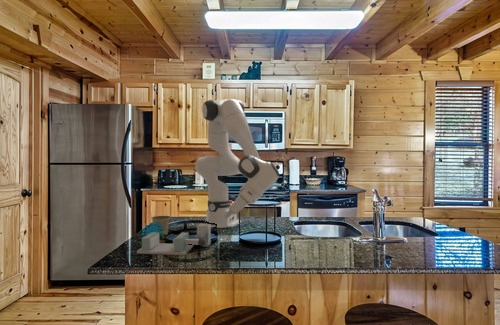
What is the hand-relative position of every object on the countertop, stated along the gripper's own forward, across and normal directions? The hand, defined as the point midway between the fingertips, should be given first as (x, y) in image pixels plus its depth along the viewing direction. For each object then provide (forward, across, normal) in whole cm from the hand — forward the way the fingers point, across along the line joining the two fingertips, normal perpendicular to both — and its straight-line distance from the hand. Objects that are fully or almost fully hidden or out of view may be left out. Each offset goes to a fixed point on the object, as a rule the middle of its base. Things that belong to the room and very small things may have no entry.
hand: (227, 215), depth 142 cm
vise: (+27, +9, -8) cm, 29 cm away
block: (+17, 0, +2) cm, 17 cm away
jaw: (+18, +9, -1) cm, 20 cm away
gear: (+35, -6, -16) cm, 39 cm away
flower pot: (+35, -16, -16) cm, 42 cm away
